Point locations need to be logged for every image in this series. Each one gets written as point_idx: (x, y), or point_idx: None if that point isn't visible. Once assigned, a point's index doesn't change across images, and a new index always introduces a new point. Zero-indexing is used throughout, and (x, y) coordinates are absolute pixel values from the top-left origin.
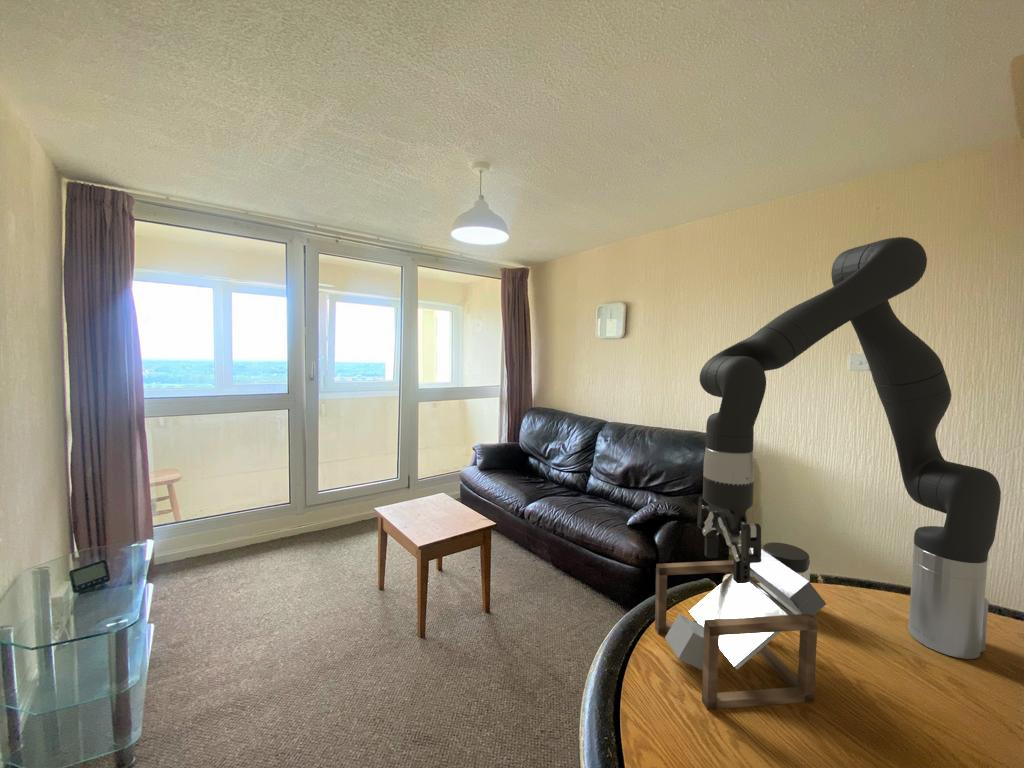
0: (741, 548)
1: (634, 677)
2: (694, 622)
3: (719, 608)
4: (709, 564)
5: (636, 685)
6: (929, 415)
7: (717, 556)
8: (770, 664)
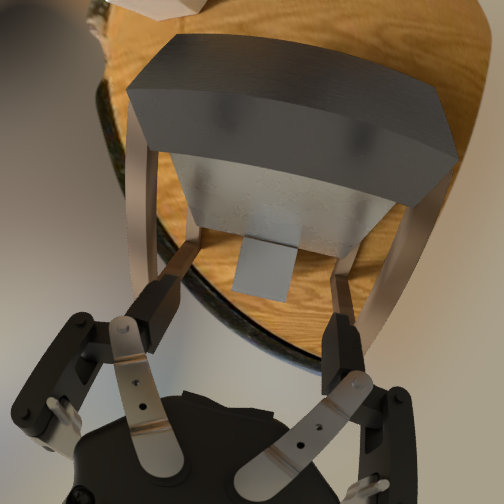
0: (361, 449)
1: (269, 320)
2: (243, 258)
3: (237, 211)
4: (140, 213)
5: (281, 324)
6: None
7: (179, 277)
8: None
